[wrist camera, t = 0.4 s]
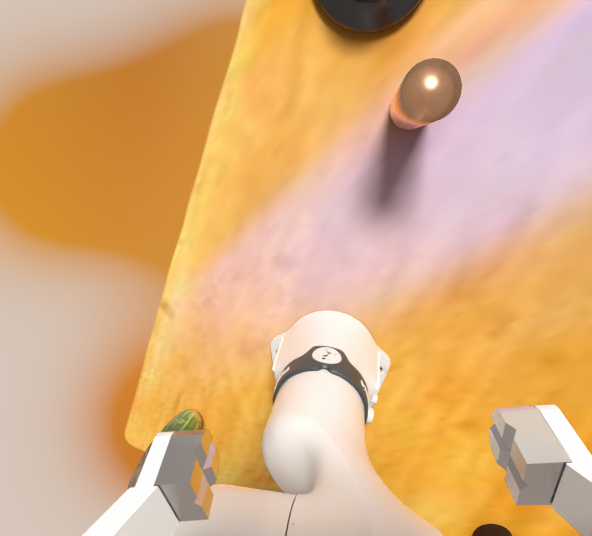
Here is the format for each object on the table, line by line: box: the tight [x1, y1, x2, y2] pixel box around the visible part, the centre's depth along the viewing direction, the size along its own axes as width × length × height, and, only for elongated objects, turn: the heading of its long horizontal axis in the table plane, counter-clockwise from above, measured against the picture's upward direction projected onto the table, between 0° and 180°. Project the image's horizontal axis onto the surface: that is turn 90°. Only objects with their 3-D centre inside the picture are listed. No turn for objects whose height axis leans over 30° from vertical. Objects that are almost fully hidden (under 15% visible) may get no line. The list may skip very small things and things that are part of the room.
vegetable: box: [128, 409, 202, 489], centre depth 59 cm, size 6×6×20 cm
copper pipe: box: [390, 58, 462, 130], centre depth 40 cm, size 5×5×16 cm
